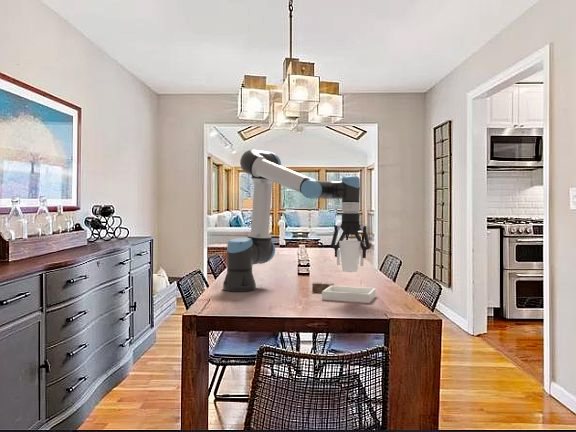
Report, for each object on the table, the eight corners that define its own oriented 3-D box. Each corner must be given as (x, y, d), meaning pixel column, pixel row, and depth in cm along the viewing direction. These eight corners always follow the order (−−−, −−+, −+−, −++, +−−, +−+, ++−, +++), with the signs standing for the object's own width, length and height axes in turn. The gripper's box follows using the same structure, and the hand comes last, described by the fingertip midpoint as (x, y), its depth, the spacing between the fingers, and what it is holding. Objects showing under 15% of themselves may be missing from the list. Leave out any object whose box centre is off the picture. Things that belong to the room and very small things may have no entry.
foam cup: (360, 273, 215) (360, 241, 215) (337, 272, 217) (338, 241, 216) (361, 270, 224) (362, 240, 224) (340, 269, 226) (340, 239, 226)
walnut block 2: (321, 292, 234) (321, 283, 234) (326, 291, 237) (326, 282, 237) (329, 293, 231) (329, 284, 231) (333, 292, 235) (333, 283, 235)
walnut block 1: (312, 292, 234) (312, 283, 234) (313, 290, 238) (313, 282, 238) (321, 292, 234) (321, 283, 233) (321, 291, 238) (321, 282, 237)
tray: (322, 299, 217) (322, 291, 216) (331, 293, 232) (331, 285, 232) (369, 303, 210) (369, 294, 210) (375, 296, 225) (375, 288, 225)
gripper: (323, 212, 220) (322, 265, 220) (375, 213, 213) (374, 267, 213) (327, 212, 227) (327, 263, 228) (378, 212, 220) (377, 265, 221)
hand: (350, 265), depth 221 cm, fingers closed on foam cup, 9 cm apart
